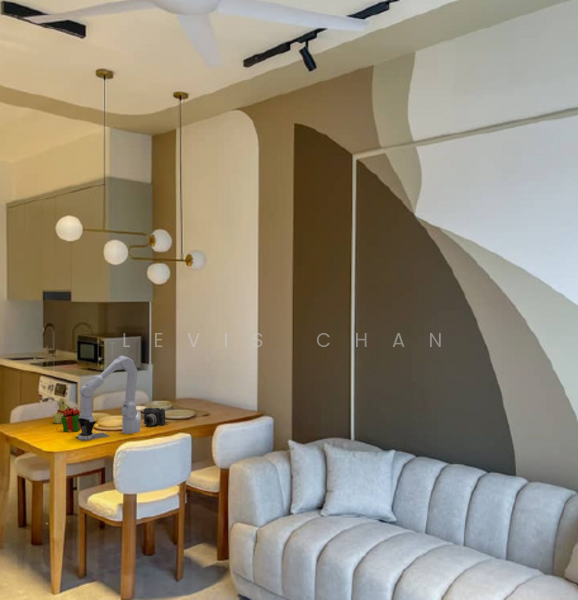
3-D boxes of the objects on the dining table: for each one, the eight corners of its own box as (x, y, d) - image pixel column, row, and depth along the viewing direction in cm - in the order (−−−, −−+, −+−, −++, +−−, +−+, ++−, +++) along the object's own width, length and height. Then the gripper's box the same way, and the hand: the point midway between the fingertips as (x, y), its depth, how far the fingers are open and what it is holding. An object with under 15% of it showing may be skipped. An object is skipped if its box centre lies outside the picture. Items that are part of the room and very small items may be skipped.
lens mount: (103, 434, 331) (103, 428, 331) (110, 438, 324) (110, 432, 323) (74, 438, 321) (74, 433, 321) (81, 443, 313) (81, 437, 313)
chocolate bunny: (73, 421, 359) (73, 397, 358) (55, 424, 351) (55, 399, 350) (67, 419, 364) (67, 395, 363) (50, 422, 356) (50, 397, 355)
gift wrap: (60, 431, 342) (57, 407, 343) (93, 427, 344) (90, 403, 344) (49, 439, 322) (46, 412, 323) (84, 434, 324) (81, 408, 324)
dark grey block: (89, 436, 323) (89, 425, 323) (92, 437, 320) (92, 426, 319) (80, 437, 320) (80, 426, 320) (83, 439, 316) (83, 428, 316)
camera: (136, 425, 352) (136, 409, 351) (147, 421, 362) (147, 405, 362) (156, 428, 346) (156, 411, 346) (167, 424, 357) (167, 407, 356)
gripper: (74, 406, 322) (74, 431, 323) (84, 411, 311) (84, 436, 312) (86, 404, 327) (86, 429, 327) (97, 409, 316) (97, 434, 316)
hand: (86, 432), depth 320 cm, fingers open, 7 cm apart
